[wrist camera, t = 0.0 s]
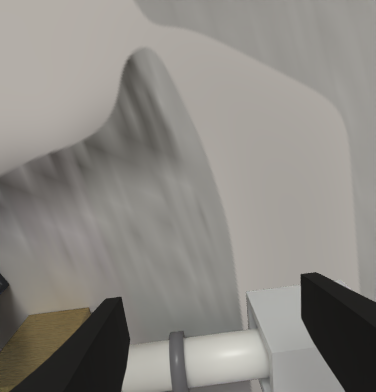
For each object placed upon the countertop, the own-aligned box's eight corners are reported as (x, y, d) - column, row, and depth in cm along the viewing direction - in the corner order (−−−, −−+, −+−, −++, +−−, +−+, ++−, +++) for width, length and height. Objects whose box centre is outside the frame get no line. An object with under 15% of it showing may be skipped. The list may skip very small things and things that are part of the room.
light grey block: (340, 279, 22) (401, 335, 16) (338, 342, 24) (392, 414, 18) (246, 291, 22) (272, 353, 16) (250, 354, 24) (275, 430, 18)
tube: (346, 297, 22) (386, 337, 18) (345, 339, 23) (382, 386, 19) (126, 326, 21) (114, 372, 17) (135, 367, 22) (126, 420, 18)
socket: (88, 307, 22) (53, 380, 16) (105, 376, 24) (80, 467, 17) (29, 315, 22) (-31, 391, 15) (50, 383, 24) (5, 477, 17)
